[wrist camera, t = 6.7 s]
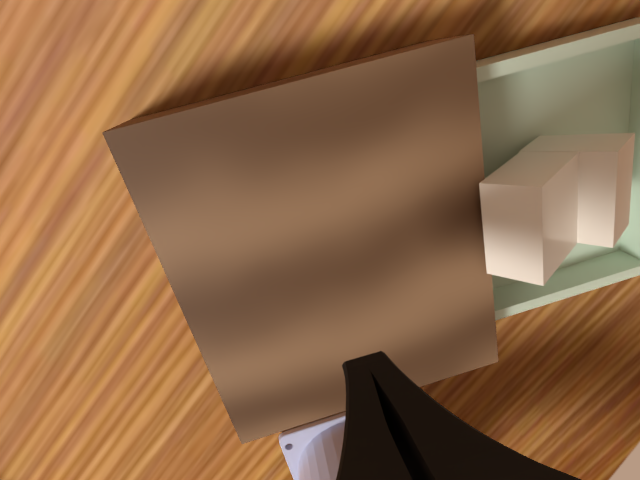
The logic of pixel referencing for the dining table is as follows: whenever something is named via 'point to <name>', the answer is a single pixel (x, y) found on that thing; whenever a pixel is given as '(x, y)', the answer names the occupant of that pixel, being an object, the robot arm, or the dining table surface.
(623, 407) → the dining table surface
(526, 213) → the tile front
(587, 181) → the tile rear
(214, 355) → the dark wooden board
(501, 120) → the tray
